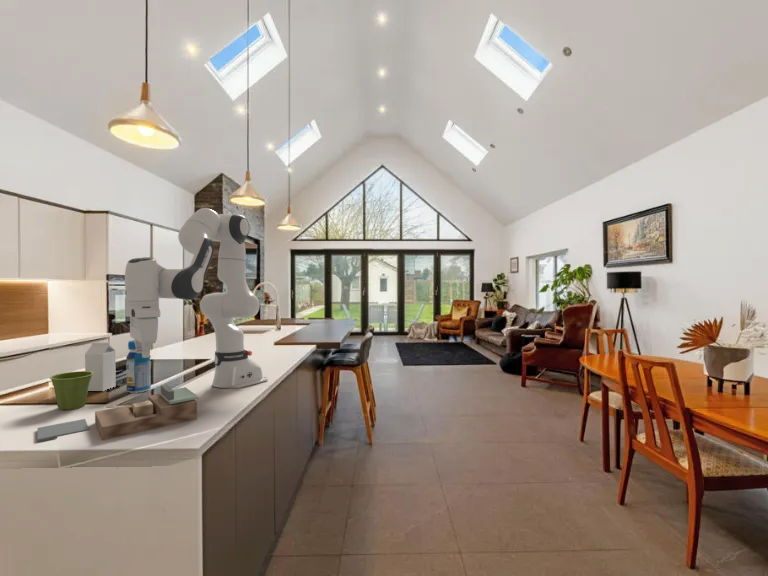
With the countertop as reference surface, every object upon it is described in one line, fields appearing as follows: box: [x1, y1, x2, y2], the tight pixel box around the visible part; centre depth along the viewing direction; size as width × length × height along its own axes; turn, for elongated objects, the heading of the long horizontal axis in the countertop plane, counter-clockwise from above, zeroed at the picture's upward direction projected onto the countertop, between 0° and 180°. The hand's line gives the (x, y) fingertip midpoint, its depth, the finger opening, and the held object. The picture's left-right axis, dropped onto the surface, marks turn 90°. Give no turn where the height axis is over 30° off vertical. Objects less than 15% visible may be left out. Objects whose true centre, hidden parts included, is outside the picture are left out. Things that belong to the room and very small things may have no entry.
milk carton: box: [84, 342, 117, 392], centre depth 153 cm, size 7×7×19 cm
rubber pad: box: [37, 418, 90, 443], centre depth 111 cm, size 11×11×1 cm
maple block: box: [132, 400, 153, 418], centre depth 117 cm, size 4×4×6 cm
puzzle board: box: [94, 393, 198, 441], centre depth 117 cm, size 24×17×6 cm
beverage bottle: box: [125, 339, 152, 394], centre depth 152 cm, size 8×8×20 cm
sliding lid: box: [158, 384, 199, 404], centre depth 123 cm, size 8×14×3 cm, turn 43°
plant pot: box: [48, 370, 94, 411], centre depth 132 cm, size 12×12×11 cm
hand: (142, 355), depth 116 cm, fingers open, 8 cm apart
